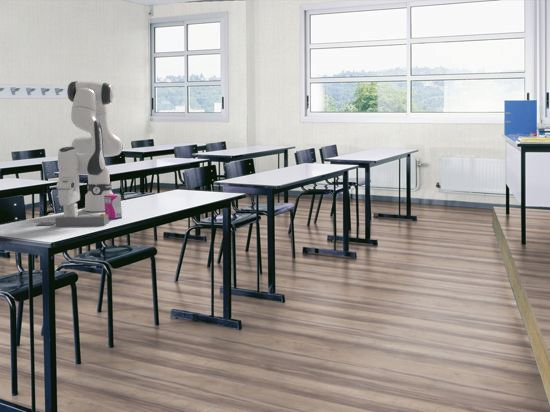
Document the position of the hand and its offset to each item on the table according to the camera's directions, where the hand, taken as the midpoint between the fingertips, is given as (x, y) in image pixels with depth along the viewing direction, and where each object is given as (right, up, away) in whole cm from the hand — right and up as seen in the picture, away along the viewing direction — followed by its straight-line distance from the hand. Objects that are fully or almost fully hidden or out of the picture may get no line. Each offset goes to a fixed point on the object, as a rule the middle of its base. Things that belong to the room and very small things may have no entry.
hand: (70, 213), depth 300 cm
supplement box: (+15, -3, +19) cm, 24 cm away
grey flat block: (+5, -5, +5) cm, 8 cm away
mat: (-12, -5, +3) cm, 13 cm away
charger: (0, -3, 0) cm, 3 cm away
